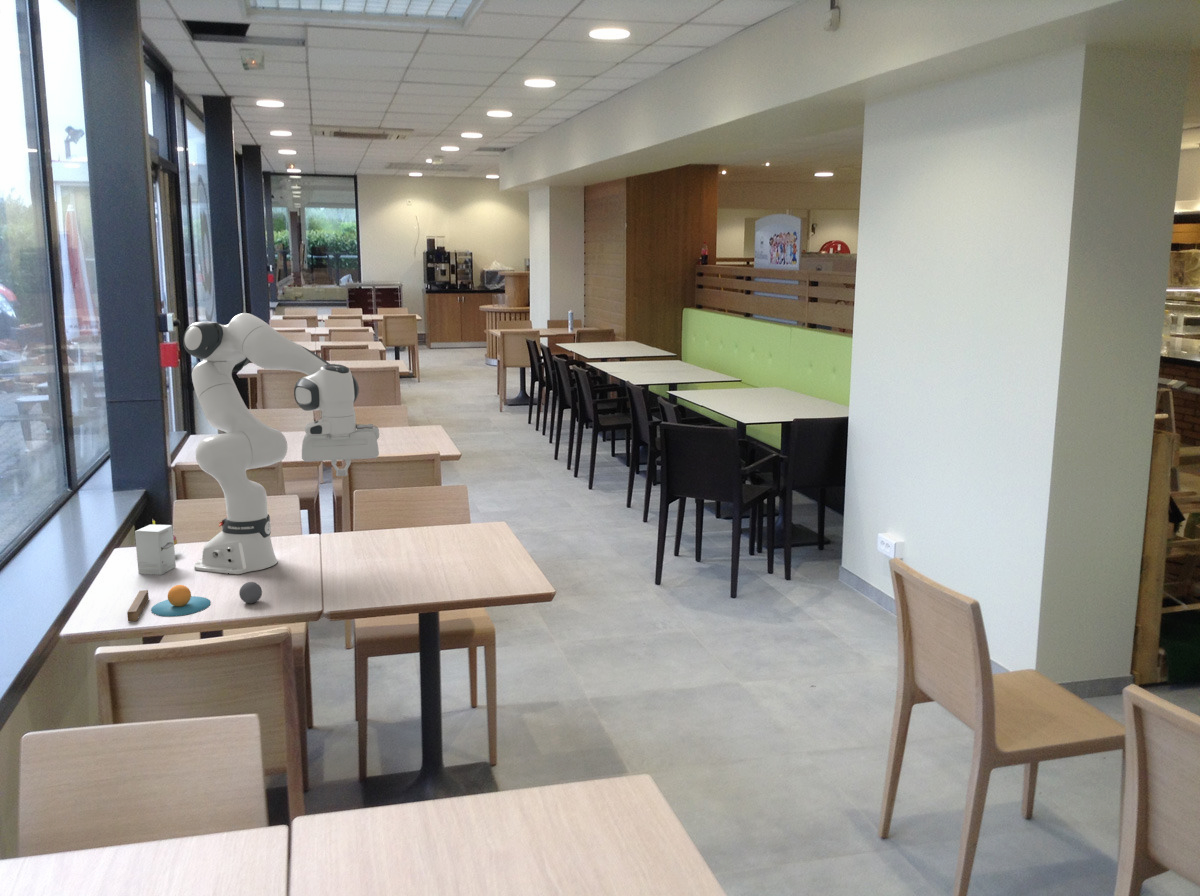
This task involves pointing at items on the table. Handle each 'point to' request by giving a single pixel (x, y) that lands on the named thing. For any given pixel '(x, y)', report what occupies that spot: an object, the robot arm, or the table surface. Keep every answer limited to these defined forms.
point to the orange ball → (179, 595)
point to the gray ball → (250, 592)
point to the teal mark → (181, 607)
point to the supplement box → (155, 549)
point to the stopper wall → (138, 605)
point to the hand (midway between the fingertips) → (341, 475)
